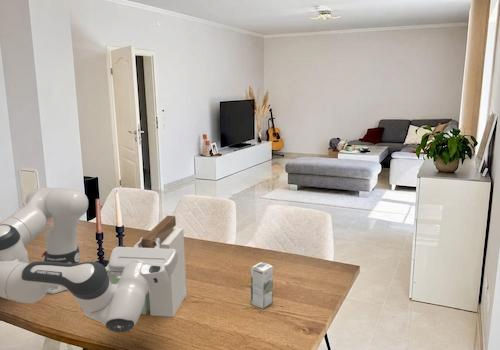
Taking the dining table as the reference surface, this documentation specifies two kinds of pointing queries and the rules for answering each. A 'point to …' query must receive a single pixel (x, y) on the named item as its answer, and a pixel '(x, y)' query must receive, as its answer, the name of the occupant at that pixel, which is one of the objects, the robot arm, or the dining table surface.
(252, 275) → the syrup box
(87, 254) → the dining table surface
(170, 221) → the walnut bar
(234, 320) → the dining table surface
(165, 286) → the white stand
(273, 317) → the dining table surface
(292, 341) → the dining table surface
